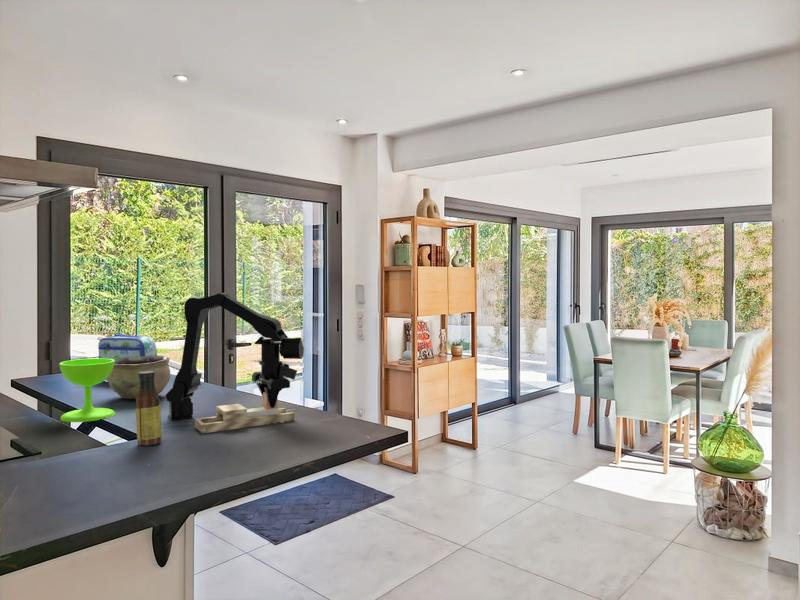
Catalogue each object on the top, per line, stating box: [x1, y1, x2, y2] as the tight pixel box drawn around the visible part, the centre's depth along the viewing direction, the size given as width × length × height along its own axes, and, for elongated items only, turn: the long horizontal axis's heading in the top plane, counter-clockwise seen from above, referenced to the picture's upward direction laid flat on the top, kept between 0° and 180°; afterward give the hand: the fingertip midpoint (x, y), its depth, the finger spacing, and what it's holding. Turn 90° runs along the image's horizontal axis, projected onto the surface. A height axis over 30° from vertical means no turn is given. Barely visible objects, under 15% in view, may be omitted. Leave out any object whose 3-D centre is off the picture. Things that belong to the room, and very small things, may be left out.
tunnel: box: [194, 403, 295, 434], centre depth 180 cm, size 29×8×6 cm, turn 123°
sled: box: [247, 392, 279, 418], centre depth 181 cm, size 14×4×8 cm, turn 123°
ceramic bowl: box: [107, 354, 171, 400], centre depth 217 cm, size 22×22×15 cm
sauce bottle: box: [135, 371, 163, 447], centre depth 157 cm, size 7×6×20 cm
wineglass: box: [58, 357, 116, 423], centre depth 188 cm, size 16×16×18 cm
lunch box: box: [97, 333, 158, 381], centre depth 249 cm, size 26×11×21 cm, turn 69°
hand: (270, 406), depth 184 cm, fingers closed on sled, 3 cm apart
